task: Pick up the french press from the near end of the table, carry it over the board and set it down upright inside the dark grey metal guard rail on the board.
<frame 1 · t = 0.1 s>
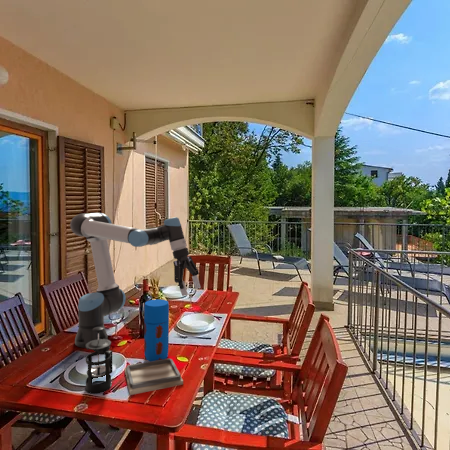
hand: (191, 291, 160), 28 cm above the table, tool tilted 20°, fingers open, 13 cm apart
french press: (99, 386, 127), on the table
thermos: (156, 356, 153), on the table
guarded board: (152, 377, 134), on the table
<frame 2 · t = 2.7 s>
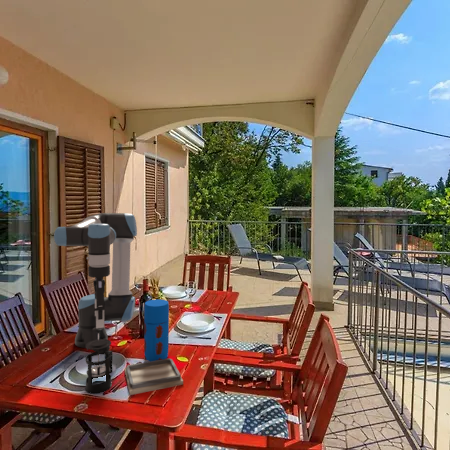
hand: (99, 321, 125), 25 cm above the table, tool pointing down, fingers open, 13 cm apart
nothing on the table moved.
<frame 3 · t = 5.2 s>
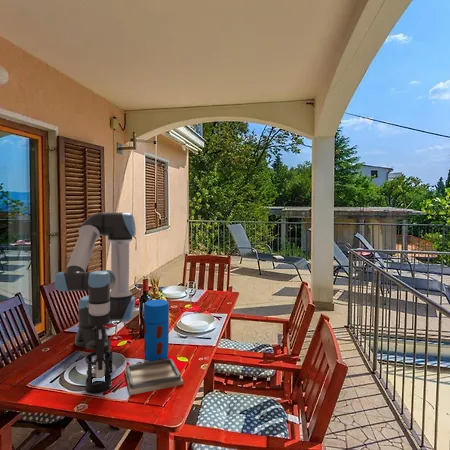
hand: (99, 371, 126), 6 cm above the table, tool pointing down, fingers closed on french press, 9 cm apart
french press: (99, 386, 127), on the table, touching gripper
everything else where it was.
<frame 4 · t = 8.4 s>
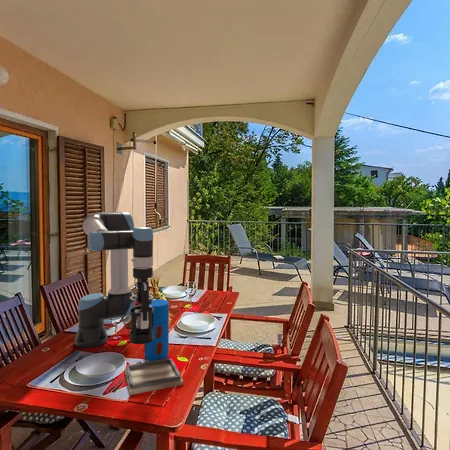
hand: (142, 323, 131), 23 cm above the table, tool pointing down, fingers closed on french press, 9 cm apart
french press: (142, 339, 131), point 16 cm above the table, touching gripper
everything else where it was.
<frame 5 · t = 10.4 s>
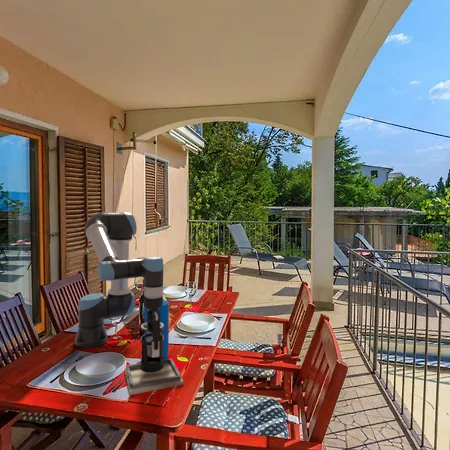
hand: (153, 351, 133), 11 cm above the table, tool pointing down, fingers closed on french press, 9 cm apart
french press: (152, 366, 134), point 5 cm above the table, touching gripper
everything else where it was.
when the fingers open (9 cm above the table, at t = 11.6 s): french press drops 1 cm, resting on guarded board.
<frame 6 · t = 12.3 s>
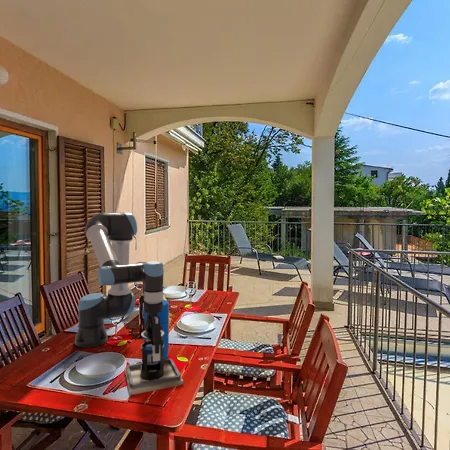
hand: (153, 353, 133), 10 cm above the table, tool pointing down, fingers open, 13 cm apart
french press: (152, 374, 134), point 1 cm above the table, touching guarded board
everything else where it was.
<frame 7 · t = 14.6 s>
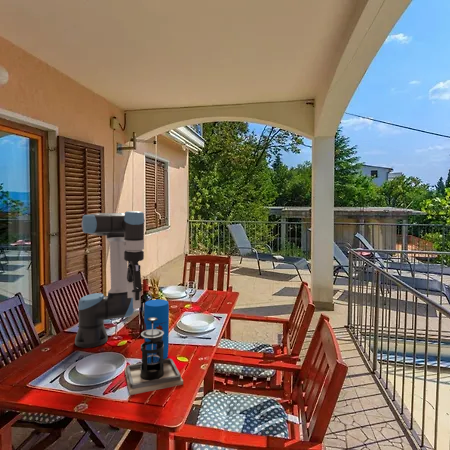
hand: (133, 302, 134), 30 cm above the table, tool pointing down, fingers open, 13 cm apart
nothing on the table moved.
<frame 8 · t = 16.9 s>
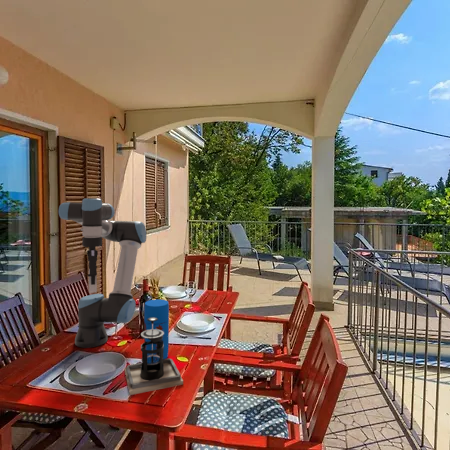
hand: (92, 288, 137), 35 cm above the table, tool pointing down, fingers open, 13 cm apart
nothing on the table moved.
at the end: french press 0.3 cm off-centre on the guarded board, point 1.3 cm above the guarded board's base; french press tilted 0°; the gripper is holding nothing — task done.
